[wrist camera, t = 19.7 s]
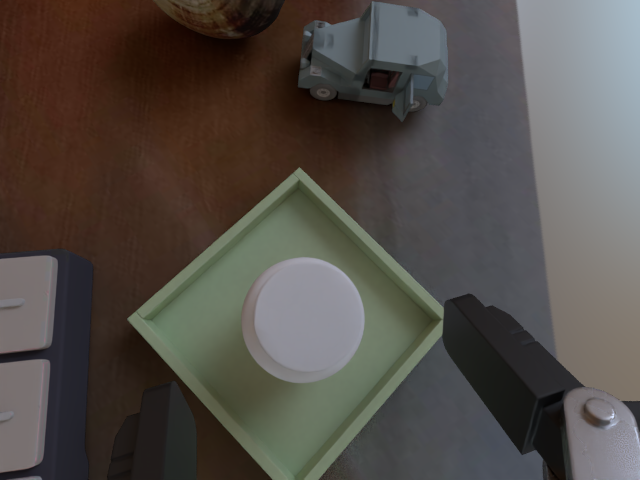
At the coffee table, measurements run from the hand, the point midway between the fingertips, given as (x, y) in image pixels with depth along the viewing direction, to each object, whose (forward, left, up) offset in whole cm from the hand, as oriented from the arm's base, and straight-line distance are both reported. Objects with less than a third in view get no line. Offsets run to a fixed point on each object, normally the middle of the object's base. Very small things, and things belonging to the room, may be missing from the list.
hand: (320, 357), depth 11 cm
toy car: (+16, +9, -13) cm, 22 cm away
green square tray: (+1, +1, -13) cm, 13 cm away
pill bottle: (+1, +1, -12) cm, 12 cm away
